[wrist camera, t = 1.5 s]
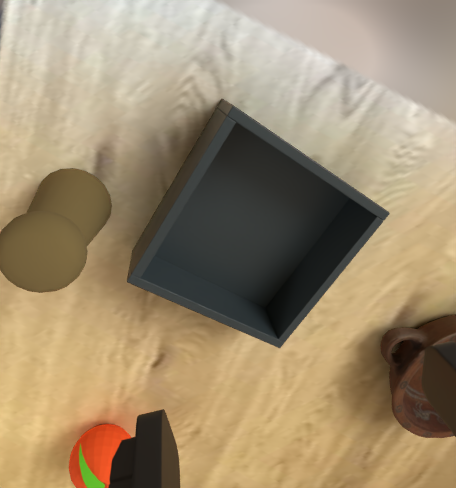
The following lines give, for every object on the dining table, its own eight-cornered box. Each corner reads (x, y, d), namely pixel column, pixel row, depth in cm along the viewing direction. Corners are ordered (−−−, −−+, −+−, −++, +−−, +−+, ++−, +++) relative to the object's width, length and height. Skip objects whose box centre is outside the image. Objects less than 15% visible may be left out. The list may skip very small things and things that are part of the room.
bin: (222, 98, 30) (233, 105, 25) (359, 192, 35) (390, 213, 31) (131, 251, 35) (126, 282, 30) (265, 313, 40) (279, 348, 35)
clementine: (59, 418, 42) (40, 481, 36) (116, 396, 42) (107, 455, 35) (95, 458, 46) (83, 522, 39) (147, 438, 45) (144, 498, 39)
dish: (456, 420, 53) (483, 453, 49) (333, 386, 46) (351, 421, 42) (544, 327, 48) (583, 354, 43) (418, 273, 41) (449, 298, 36)
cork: (20, 192, 31) (-48, 252, 21) (81, 154, 30) (40, 198, 20) (69, 247, 33) (29, 323, 24) (125, 213, 33) (109, 277, 23)
